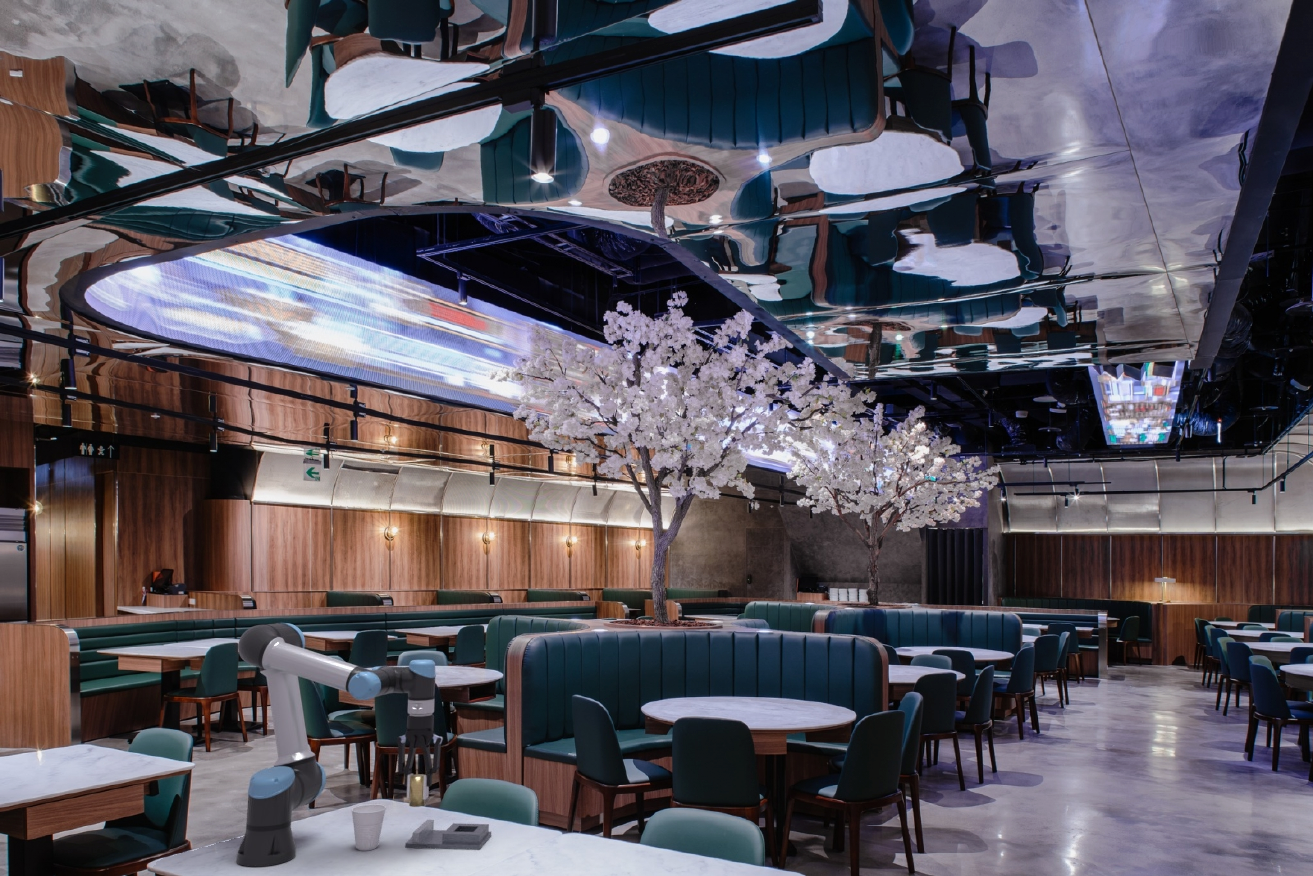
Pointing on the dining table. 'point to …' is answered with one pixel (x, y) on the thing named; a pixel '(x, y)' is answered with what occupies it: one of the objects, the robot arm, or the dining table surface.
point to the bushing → (416, 791)
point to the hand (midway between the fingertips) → (417, 797)
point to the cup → (367, 825)
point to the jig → (450, 836)
